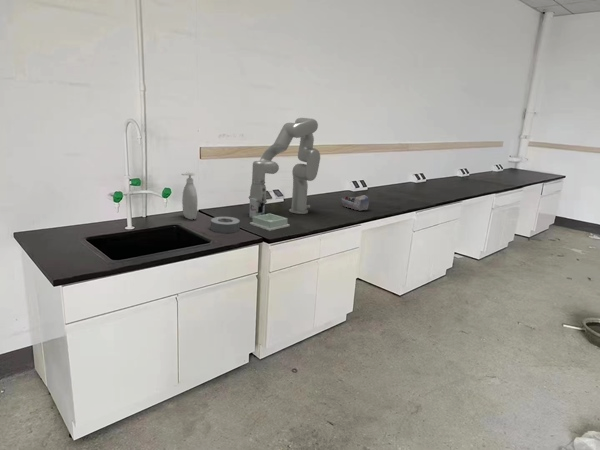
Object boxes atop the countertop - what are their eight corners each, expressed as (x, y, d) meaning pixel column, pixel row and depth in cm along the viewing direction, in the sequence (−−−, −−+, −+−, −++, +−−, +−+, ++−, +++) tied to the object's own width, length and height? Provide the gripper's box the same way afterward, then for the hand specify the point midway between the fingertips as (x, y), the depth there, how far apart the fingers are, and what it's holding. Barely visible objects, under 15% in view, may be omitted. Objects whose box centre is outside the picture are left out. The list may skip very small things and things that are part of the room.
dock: (269, 220, 244) (270, 212, 243) (289, 226, 235) (290, 218, 233) (249, 224, 233) (250, 216, 231) (269, 230, 223) (270, 222, 222)
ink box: (258, 215, 255) (259, 196, 252) (264, 216, 252) (265, 197, 249) (248, 217, 248) (249, 197, 245) (254, 218, 245) (255, 199, 242)
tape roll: (245, 230, 221) (245, 221, 219) (221, 235, 210) (221, 225, 209) (228, 223, 231) (229, 215, 230) (205, 227, 221) (205, 218, 219)
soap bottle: (176, 216, 239) (176, 169, 232) (189, 214, 244) (189, 169, 237) (187, 221, 228) (187, 173, 221) (201, 220, 234) (201, 173, 226)
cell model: (361, 197, 278) (339, 192, 292) (359, 212, 281) (338, 207, 295) (373, 195, 287) (351, 190, 301) (371, 210, 289) (350, 205, 303)
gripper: (273, 183, 242) (271, 213, 247) (253, 179, 252) (252, 208, 257) (263, 184, 236) (262, 215, 241) (244, 180, 247) (243, 209, 251)
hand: (257, 211), depth 249 cm, fingers closed on ink box, 5 cm apart
